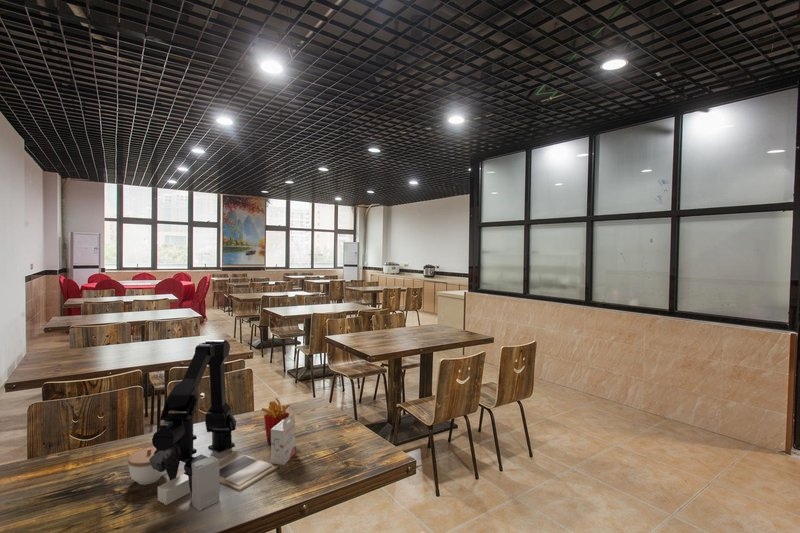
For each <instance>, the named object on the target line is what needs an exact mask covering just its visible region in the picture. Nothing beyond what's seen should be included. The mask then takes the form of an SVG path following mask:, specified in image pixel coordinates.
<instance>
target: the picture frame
mask: <svg viewBox="0 0 800 533" xmlns="http://www.w3.org/2000/svg"><path fill="white" fill-rule="evenodd" d="M218 460H219V484H221V485H223V486H226V487H229V488H231V489H234V490H236V491H237V492H241V491H243V489H245V488H247V487H249V486H251V485H252V484H254V483H256V482H257V481H260V479H263V478H264V477H265V476H267V475H268V474H270V473H272V472H274V471H275V470H277V469H278V468H279V467H278V465H276V464H271V462H267V461H264V460H262V459H258V458H256V457H252V456H250V455H247V454H245V453H242V452H239V451H236V450H235V451H233V452H231V453H229V454H226V455H225V456H223V457H222V458H221V457H220V458H218Z"/></svg>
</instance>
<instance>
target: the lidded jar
mask: <svg viewBox="0 0 800 533" xmlns="http://www.w3.org/2000/svg"><path fill="white" fill-rule="evenodd" d="M155 451H156V448H155V447H154V446H151V447H150V446H149V447H146V448H143V449H139V450H137V451H135V452H133V453H132V454H131V455H129V457H128V458H127V459H128V460H127V462H128V472H129V475H130V477H131V479H132V480H133V481H135V482H136V483H137V484H138V485H143V486H144V485H146V486H147V485H150V484H154V483H156V482H158V481H159V480H160V479H161V477H162V476H163V475H164V474H165V472H167V471H166V470H165V471H163V472H159V471H157V470H154V469H153V467H152V465H151V463H150V461H149V459H150V458H151V457H152V456H153V455H154V452H155Z"/></svg>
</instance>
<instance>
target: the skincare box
mask: <svg viewBox="0 0 800 533" xmlns="http://www.w3.org/2000/svg"><path fill="white" fill-rule="evenodd" d="M207 457H208V458H205V459H203V460H200V461H197V462H195V463H192V492H191V505H192V506H193V507H194V508H195V509H196V510H197V511H198V512H199V511H201V510H204V509H205V508H208V507H210V506H212V505H214V504H216V503H218V502H220V499H221V498H220V497H221V496H220V492H221V491H220V483H219V458H216V457H215V456H213V455H211V456H207Z"/></svg>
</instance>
